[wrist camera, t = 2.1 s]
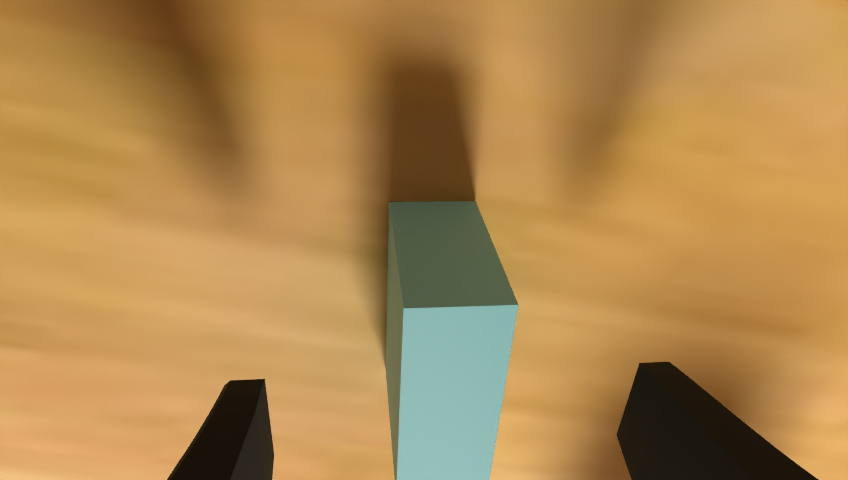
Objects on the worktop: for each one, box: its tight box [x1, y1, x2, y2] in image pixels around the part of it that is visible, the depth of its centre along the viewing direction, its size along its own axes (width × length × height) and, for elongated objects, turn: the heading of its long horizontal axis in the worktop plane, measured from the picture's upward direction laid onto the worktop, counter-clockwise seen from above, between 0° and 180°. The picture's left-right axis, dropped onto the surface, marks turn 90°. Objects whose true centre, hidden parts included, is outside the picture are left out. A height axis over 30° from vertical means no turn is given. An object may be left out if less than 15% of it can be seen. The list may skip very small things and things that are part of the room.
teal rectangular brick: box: [386, 201, 518, 480], centre depth 13 cm, size 2×5×4 cm, turn 177°
